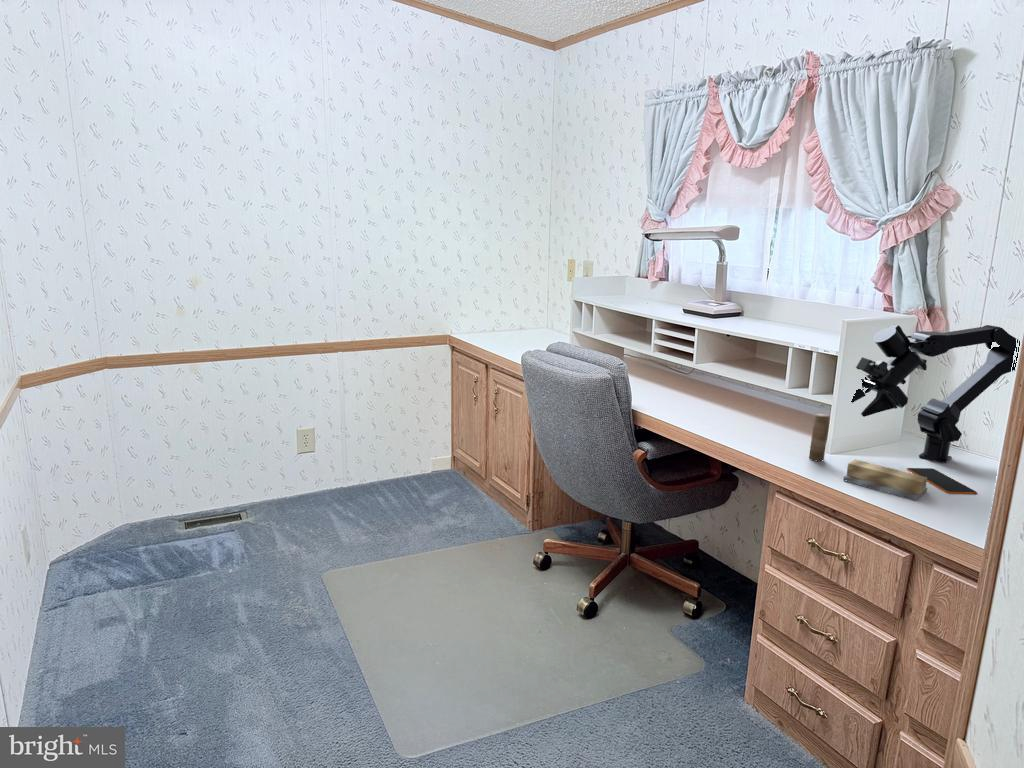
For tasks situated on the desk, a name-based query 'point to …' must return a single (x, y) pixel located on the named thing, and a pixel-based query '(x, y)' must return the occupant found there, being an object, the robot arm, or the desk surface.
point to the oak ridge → (886, 479)
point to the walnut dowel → (819, 437)
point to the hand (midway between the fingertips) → (851, 410)
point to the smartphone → (942, 481)
